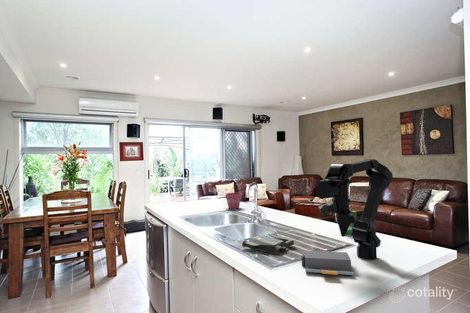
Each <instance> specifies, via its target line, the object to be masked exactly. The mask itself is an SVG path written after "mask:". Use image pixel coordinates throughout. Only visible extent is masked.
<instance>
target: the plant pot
mask: <svg viewBox="0 0 470 313" xmlns="http://www.w3.org/2000/svg"><path fill="white" fill-rule="evenodd" d="M242 197H243V196H242V193H241V192H229V193H225V199H226V202H227V206H228V209H229V208H230V209H229V210H237V209H236V208H239V209H240V205H241V199H242Z"/></svg>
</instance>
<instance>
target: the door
mask: <svg viewBox="0 0 470 313" xmlns="http://www.w3.org/2000/svg"><path fill="white" fill-rule="evenodd" d="M305 273H316V274H317V273H321V274H325V275H334V276H335V275H336V276H337V275H349V276H354V275H355V274H354V273H355V272H353V271H351V272H350V271H336V270H321V269H310V268H307V269H306V268H305Z"/></svg>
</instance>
